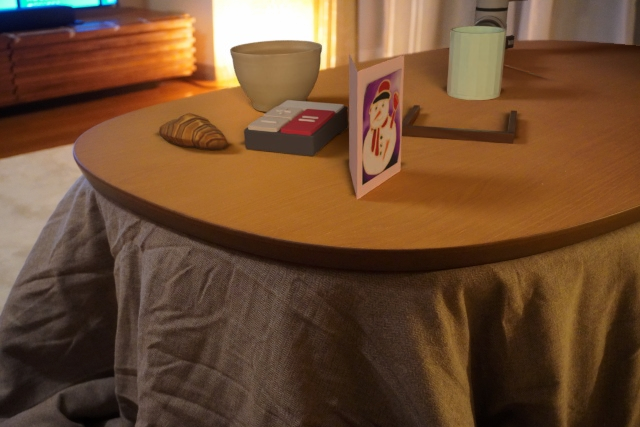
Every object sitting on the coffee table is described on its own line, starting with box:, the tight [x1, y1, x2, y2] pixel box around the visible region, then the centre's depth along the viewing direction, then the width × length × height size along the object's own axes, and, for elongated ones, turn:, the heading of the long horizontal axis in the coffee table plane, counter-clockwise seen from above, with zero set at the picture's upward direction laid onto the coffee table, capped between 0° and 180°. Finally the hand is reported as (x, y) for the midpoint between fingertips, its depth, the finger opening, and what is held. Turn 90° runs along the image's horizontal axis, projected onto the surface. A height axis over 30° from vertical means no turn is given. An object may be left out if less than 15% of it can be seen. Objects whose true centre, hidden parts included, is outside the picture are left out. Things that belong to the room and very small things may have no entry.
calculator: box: [243, 100, 349, 157], centre depth 95 cm, size 11×4×15 cm
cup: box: [446, 25, 508, 101], centre depth 117 cm, size 10×10×12 cm
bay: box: [402, 104, 518, 144], centre depth 99 cm, size 14×17×2 cm
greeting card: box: [348, 53, 405, 201], centre depth 75 cm, size 11×7×15 cm, turn 147°
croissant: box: [158, 112, 228, 151], centre depth 92 cm, size 14×7×5 cm, turn 54°
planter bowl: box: [229, 39, 323, 113], centre depth 111 cm, size 16×16×11 cm
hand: (477, 53), depth 121 cm, fingers closed
